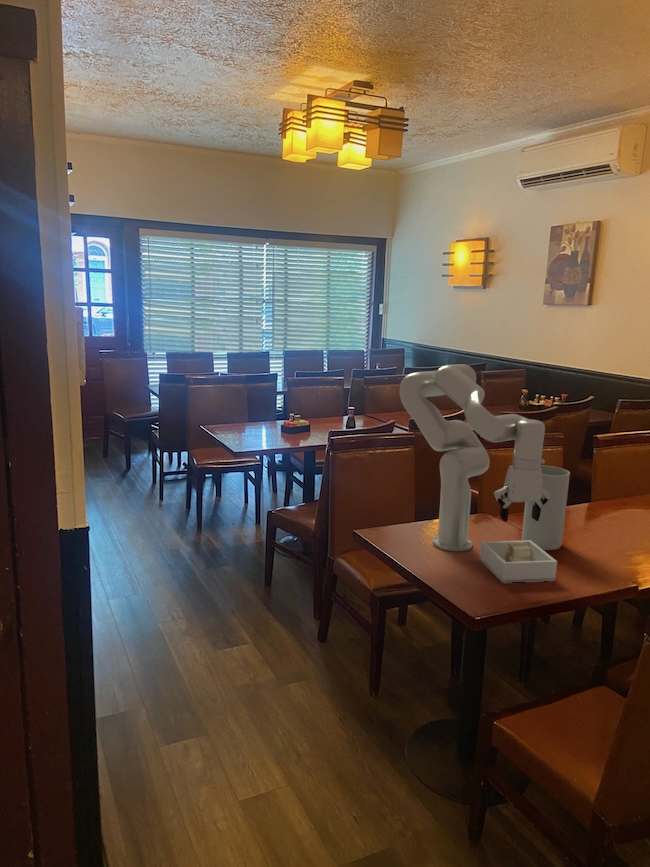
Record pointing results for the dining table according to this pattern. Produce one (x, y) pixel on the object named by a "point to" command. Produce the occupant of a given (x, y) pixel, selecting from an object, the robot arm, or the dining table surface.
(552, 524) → the cylinder vase
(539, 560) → the bin
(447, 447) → the robot arm
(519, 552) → the birch block
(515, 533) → the dining table surface
